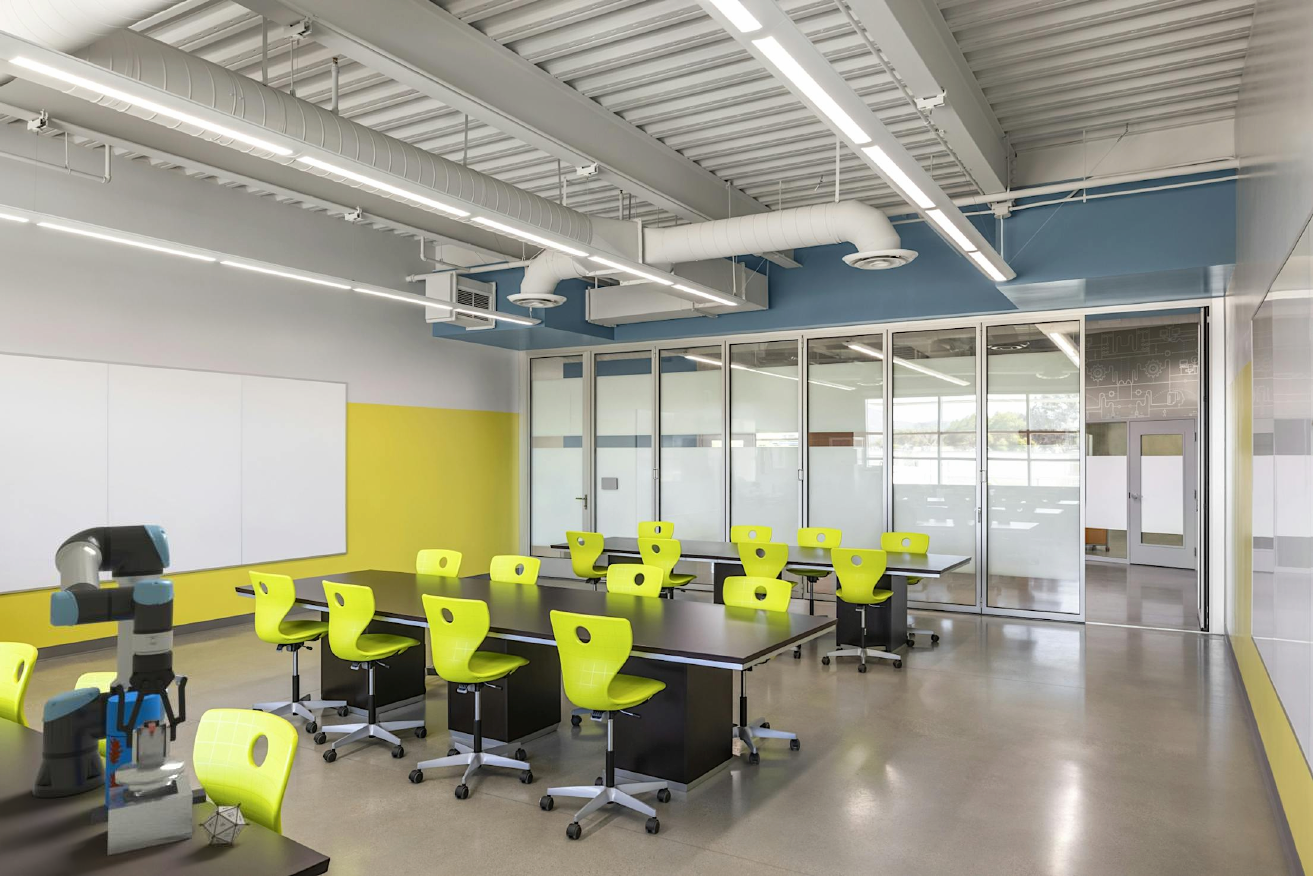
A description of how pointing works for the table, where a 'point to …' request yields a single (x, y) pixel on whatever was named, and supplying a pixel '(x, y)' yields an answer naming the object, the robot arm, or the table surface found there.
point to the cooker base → (148, 816)
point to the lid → (150, 762)
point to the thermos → (117, 740)
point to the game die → (224, 824)
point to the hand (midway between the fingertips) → (150, 759)
